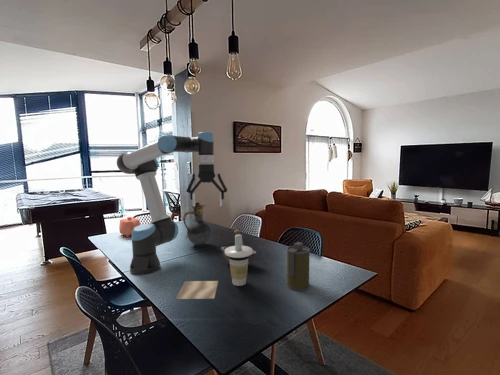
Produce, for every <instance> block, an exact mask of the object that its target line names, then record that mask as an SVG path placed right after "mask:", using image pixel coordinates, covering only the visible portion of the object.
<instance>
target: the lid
mask: <svg viewBox="0 0 500 375" xmlns="http://www.w3.org/2000/svg"><path fill="white" fill-rule="evenodd" d="M242 240H243V235H242V234H241V233H240V234H237V235H235V236H234V245H232V246H227V247H228V248H226V249H225V255H226V256H228V257H233V258H243V257H247V256H250V255H252V253H253V251H254V250H253V248H252V247H250V246H247V245H244V246H242Z"/></svg>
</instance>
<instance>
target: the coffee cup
mask: <svg viewBox="0 0 500 375" xmlns="http://www.w3.org/2000/svg"><path fill="white" fill-rule="evenodd" d="M228 258H229V260H230V263H229V269H230V276H231V281H232V284H233V286H237V287H239V286H240V287H241V286H244V285H246V284H247V277H248V270H249V268H248V267H249V264H248V258H249V256H247V257H243V258H233V257H228Z"/></svg>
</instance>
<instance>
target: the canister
mask: <svg viewBox="0 0 500 375" xmlns="http://www.w3.org/2000/svg"><path fill="white" fill-rule="evenodd" d="M310 252H311V249H310V248H309V247H308V246H305V245H304V242H301V241H297V242H294V243H293V245H290V246H288V247H287V248H286V253H287V254H286V256H287V257H286V258H287V259H286V287H287V288H288V289H290V290H292V291H296V292H303V291H307V290H308V289H310V257H311V256H310V254H311V253H310Z"/></svg>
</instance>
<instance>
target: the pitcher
mask: <svg viewBox="0 0 500 375" xmlns="http://www.w3.org/2000/svg"><path fill="white" fill-rule="evenodd" d="M204 207H207V205H205V204H201V202H197V201H196V202H195V206H194V207H193V204H192V205H191V208H192V209H193V211H186V212H184V214H183V217H182V218H183V219H182V221H183V223H184V226H185V228H186V230H187V231H186V236H185V239H187V238H188V240H189V242H191V243H192V244H193V247H194V248H203V247H205V246H206V243H207V242H209V240H210V238H211V236H212V228H211V226H210V224H208V222H206V221H204V220H203V218H204V217H203V215H204V213H203V210H204ZM189 214H191V215H194V220H195V221H192V222H191V223H190V224H189V225H187V222H186V217H187V215H189Z"/></svg>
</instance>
